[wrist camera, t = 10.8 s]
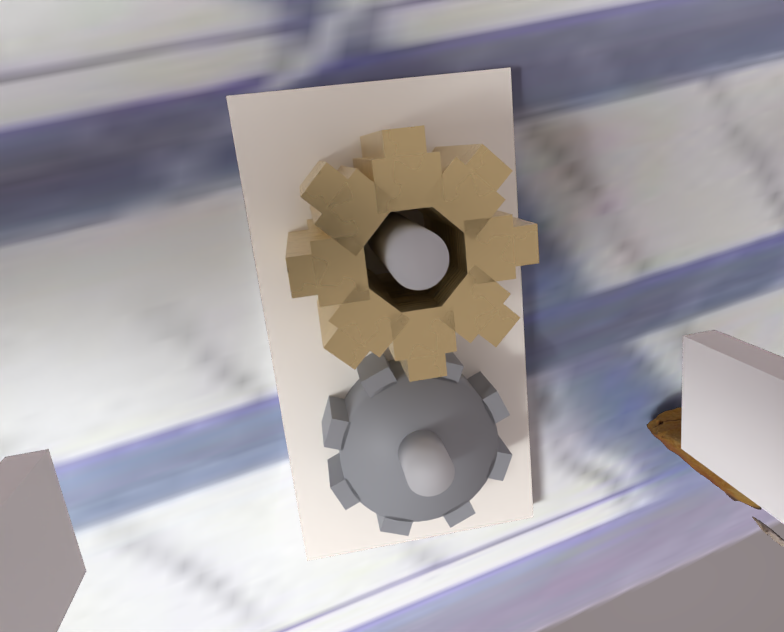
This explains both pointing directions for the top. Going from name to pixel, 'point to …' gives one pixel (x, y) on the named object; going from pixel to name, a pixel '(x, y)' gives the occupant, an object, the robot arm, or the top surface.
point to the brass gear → (441, 216)
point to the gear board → (385, 375)
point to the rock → (670, 435)
